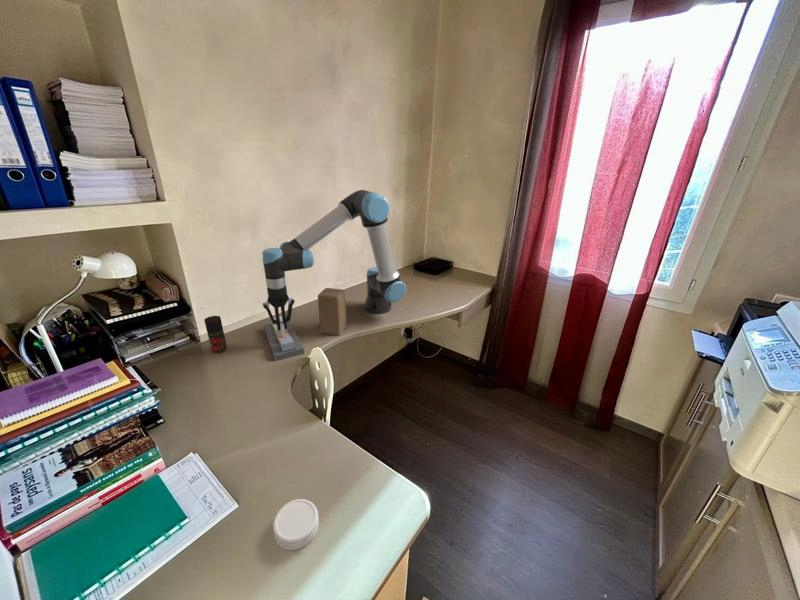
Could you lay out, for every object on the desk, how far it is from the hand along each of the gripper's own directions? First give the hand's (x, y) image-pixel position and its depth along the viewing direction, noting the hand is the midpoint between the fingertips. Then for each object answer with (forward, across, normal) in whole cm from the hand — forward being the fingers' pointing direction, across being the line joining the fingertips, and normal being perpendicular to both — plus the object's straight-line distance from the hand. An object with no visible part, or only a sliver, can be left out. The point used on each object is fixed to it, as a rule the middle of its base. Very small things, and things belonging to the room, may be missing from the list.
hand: (283, 335), depth 148 cm
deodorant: (+5, +26, -8) cm, 27 cm away
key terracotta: (+4, 0, 0) cm, 4 cm away
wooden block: (+5, -24, -3) cm, 25 cm away
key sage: (+2, 0, -7) cm, 7 cm away
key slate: (+2, 0, +7) cm, 7 cm away
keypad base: (+5, 0, -4) cm, 6 cm away
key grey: (+2, 0, -14) cm, 14 cm away
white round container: (+5, +13, +82) cm, 84 cm away
